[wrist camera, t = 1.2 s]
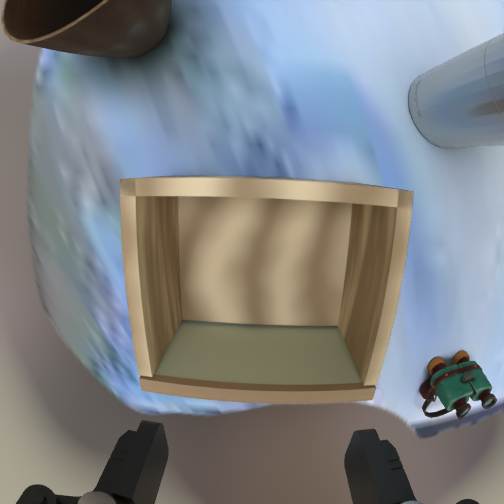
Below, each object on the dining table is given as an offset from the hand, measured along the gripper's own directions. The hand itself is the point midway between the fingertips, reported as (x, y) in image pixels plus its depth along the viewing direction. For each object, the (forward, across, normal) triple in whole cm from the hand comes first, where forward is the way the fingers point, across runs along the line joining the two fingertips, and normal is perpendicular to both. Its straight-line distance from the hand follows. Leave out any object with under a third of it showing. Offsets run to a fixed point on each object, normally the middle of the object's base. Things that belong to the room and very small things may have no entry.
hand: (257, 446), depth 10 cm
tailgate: (+24, 0, +8) cm, 25 cm away
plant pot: (+24, +15, -27) cm, 39 cm away
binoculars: (+24, -28, +17) cm, 41 cm away
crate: (+24, 0, -1) cm, 24 cm away
